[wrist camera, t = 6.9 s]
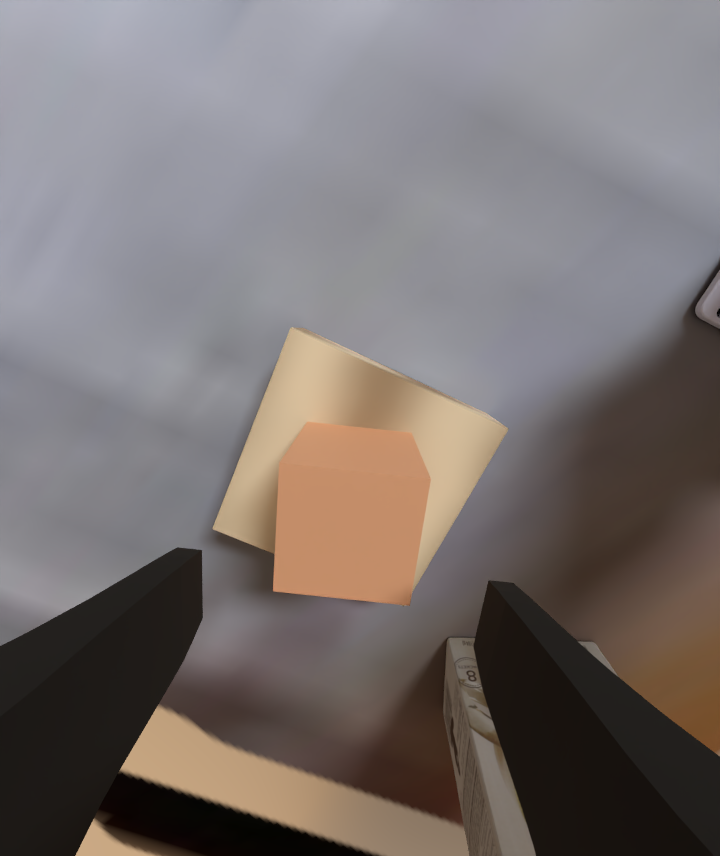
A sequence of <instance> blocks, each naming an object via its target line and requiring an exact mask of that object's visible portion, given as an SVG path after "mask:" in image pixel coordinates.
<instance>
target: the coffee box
mask: <svg viewBox="0 0 720 856" xmlns="http://www.w3.org/2000/svg"><path fill="white" fill-rule="evenodd" d="M474 641H475V638H448V640H447V648H446V667H445V683H444V704H443V714H444V720H445V725H446V730H447V735H448V740H449V746H450V751H451V757H452V762H453V767H454V773H455V779H456V783H457V790H458V796H459V801H460V807H461V812H462V818H463V823H464V829H465V834H466V838H467V844H468V850H469V856H536V854H535V850H534V846H533V843H532V840H531V836H530V833H529V830H528V826H527V823H526V820H525V817H524V813H523V811H522V808H521V805H520V802H519V799H518V796H517V793H516V790H515V787H514V784H513V781H512V778H511V775H510V772H509V769H508V766H507V763H506V760H505V757H504V754H503V751H502V748H501V745H500V742H499V739H498V736H497V733H496V730H495V727H494V724H493V721H492V718H491V715H490V712H489V709H488V706H487V703H486V699H485V696H484V693H483V689H482V685H481V680H480V676H479V672H478V667H477V662H476V657H475V652H474V647H473V646H474ZM578 642H579V643H580V644H581V645H582V646H583V647H584V648H586V649H587V650H588V651H589V652H590V653H591V654H592V655H593V656H595V657H596V658H597V659H598V660H599V661H600V662H601V663H603V664H604V665H605V666H606V667H607V668H608V669H610V670H611V671H612V672H613V673H614V674H615V675H617V674H616V672H615V671H614V670H613V668H612V667H611V665H610V664H609V662H608V661H607V660H606V658H605V657H604V655H603V654H602V653H601V651H600V649H599V648H598V646H597V645H596V644H595V643H594V642H584V641H578ZM617 676H618V675H617Z"/></svg>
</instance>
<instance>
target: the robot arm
mask: <svg viewBox="0 0 720 856" xmlns="http://www.w3.org/2000/svg"><path fill="white" fill-rule="evenodd" d="M719 308H720V270H719V272H718V273H717V275H716V276H715V278H714V279H713V281H712V282H711V284H710V285H709V287H708V288H707V290H706V291H705V293H704V294H703V296H702V297H701V299H700V300H699V302H698V303H697V305H696V308H695V313H696V316H697V317H699V318H700V319H702V320H704V321H705V322H707V323H709V324H711V325H713V326H715V327H717V328H719V329H720V315H719V316H718V317H717V311H718V309H719ZM202 618H203V608H202V550H196V549H186V548H176V549H174V550H172V551H170V552H168V553H166V554H165V555H163V556H161V557H160V558H158V559H156V560H154V561H153V562H151V563H149V564H148V565H146V566H144V567H143V568H141V569H139V570H138V571H136V572H134V573H133V574H131V575H129V576H128V577H126V578H124V579H122V580H121V581H119V582H117V583H116V584H114V585H112V586H110V587H109V588H107V589H105V590H104V591H102V592H100V593H99V594H97V595H95V596H93V597H92V598H90V599H88V600H86V601H85V602H83V603H81V604H79V605H77V606H75V607H74V608H72V609H70V610H68V611H66V612H64V613H62V614H61V615H59V616H57V617H55V618H53V619H51V620H50V621H48V622H46V623H44V624H42V625H40V626H39V627H37V628H35V629H33V630H31V631H29V632H27V633H25V634H23V635H22V636H20V637H18V638H16V639H14V640H12V641H10V642H8V643H6V644H4V645H2V646H0V856H75V855H76V853H77V851H78V849H79V847H80V845H81V843H82V841H83V839H84V837H85V835H86V833H87V831H88V829H89V827H90V825H91V823H92V821H93V819H94V817H95V815H96V813H97V811H98V809H99V807H100V805H101V803H102V801H103V799H104V797H105V795H106V794H107V792H108V790H109V788H110V786H111V785H112V783H113V781H114V779H115V777H116V775H117V774H118V772H119V770H120V768H121V767H122V765H123V763H124V762H125V760H126V758H127V757H128V755H129V753H130V751H131V750H132V748H133V746H134V745H135V743H136V741H137V740H138V738H139V736H140V735H141V733H142V731H143V729H144V728H145V726H146V724H147V723H148V721H149V719H150V718H151V716H152V714H153V712H154V711H155V709H156V707H157V706H158V704H159V702H160V701H161V699H162V697H163V695H164V694H165V692H166V690H167V689H168V687H169V685H170V683H171V682H172V680H173V678H174V676H175V675H176V673H177V671H178V670H179V668H180V666H181V664H182V662H183V661H184V659H185V656H186V654H187V652H188V650H189V648H190V646H191V643H192V641H193V639H194V637H195V634H196V632H197V630H198V627H199V625H200V623H201V621H202ZM473 647H474V652H475V657H476V662H477V667H478V672H479V676H480V680H481V685H482V689H483V693H484V696H485V699H486V703H487V706H488V709H489V712H490V715H491V718H492V721H493V724H494V727H495V730H496V733H497V736H498V739H499V742H500V745H501V748H502V751H503V754H504V757H505V760H506V763H507V766H508V769H509V772H510V775H511V778H512V781H513V784H514V787H515V790H516V793H517V796H518V799H519V802H520V805H521V808H522V811H523V813H524V817H525V820H526V823H527V826H528V830H529V833H530V836H531V840H532V843H533V846H534V850H535V854H536V856H720V756H718V755H717V754H715V753H714V752H713V751H712V750H710V749H709V748H708V747H706V746H705V745H704V744H702V743H701V742H700V741H698V740H697V739H696V738H694V737H693V736H692V735H690V734H689V733H688V732H686V731H685V730H684V729H682V728H681V727H680V726H678V725H677V724H676V723H674V722H673V721H672V720H670V719H669V718H668V717H667V716H665V715H664V714H663V713H662V712H660V711H659V710H658V709H657V708H655V707H654V706H653V705H652V704H650V703H649V702H648V701H647V700H645V699H644V698H643V697H642V696H641V695H639V694H638V693H637V692H636V691H635V690H633V689H632V688H631V687H630V686H629V685H627V684H626V683H625V682H624V681H623V680H621V679H620V678H619V677H618V676H617V675H615V674H614V673H613V672H612V671H611V670H610V669H608V668H607V667H606V666H605V665H604V664H603V663H601V662H600V661H599V660H598V659H597V658H596V657H595V656H593V655H592V654H591V653H590V652H589V651H588V650H587V649H586V648H584V647H583V646H582V645H581V644H580V643H579V642H578V641H577V640H576V639H574V638H573V637H572V636H571V635H570V634H569V633H568V632H567V631H566V630H565V629H563V628H562V627H561V626H560V625H559V624H558V623H557V622H556V621H555V620H554V619H553V618H551V617H550V616H549V615H548V614H547V613H546V612H545V611H544V610H543V609H542V608H541V607H540V606H538V605H537V604H536V603H535V602H534V601H533V600H532V599H531V598H530V597H529V596H527V595H526V594H525V593H524V592H523V591H522V590H521V589H520V588H518V587H517V586H516V585H515V584H514V583H508V582H498V581H488V585H487V590H486V594H485V598H484V603H483V607H482V611H481V616H480V620H479V624H478V629H477V633H476V637H475V641H474V646H473Z"/></svg>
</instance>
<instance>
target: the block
mask: <svg viewBox="0 0 720 856" xmlns="http://www.w3.org/2000/svg"><path fill="white" fill-rule="evenodd" d="M430 482H431V478H430V475H429V473H428V471H427V468H426V466H425V463H424V461H423V459H422V456H421V454H420V452H419V449H418V447H417V444H416V442H415V440H414V437H413V435H412V433H410V432H400V431H391V430H382V429H372V428H363V427H353V426H344V425H335V424H325V423H316V422H307V423H306V424H305V426H304V427H303V428H302V430H301V431H300V433H299V434H298V436H297V437H296V439H295V440H294V442H293V443H292V445H291V446H290V448H289V449H288V451H287V452H286V453H285V455H284V456H283V458H282V459H281V461H280V462H279V477H278V498H277V518H276V539H275V560H274V580H273V591H275V592H284V593H294V594H304V595H313V596H323V597H332V598H342V599H351V600H361V601H370V602H380V603H390V604H399V605H409V606H410V601H411V595H412V589H413V583H414V577H415V571H416V565H417V559H418V553H419V547H420V541H421V535H422V529H423V523H424V517H425V511H426V505H427V500H428V494H429V488H430Z"/></svg>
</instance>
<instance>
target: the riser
mask: <svg viewBox="0 0 720 856" xmlns="http://www.w3.org/2000/svg"><path fill="white" fill-rule="evenodd" d="M307 422H316V423H325V424H335V425H344V426H353V427H363V428H372V429H382V430H391V431H400V432H410V433H412V435H413V437H414V440H415V442H416V444H417V447H418V449H419V452H420V454H421V456H422V459H423V461H424V463H425V466H426V468H427V471H428V473H429V475H430V478H431V482H430V488H429V494H428V500H427V505H426V511H425V517H424V523H423V529H422V535H421V541H420V547H419V553H418V559H417V565H416V571H415V577H414V583H413V589H412V592H413V590H414V589H415V587H416V585H417V583H418V582H419V580H420V578H421V577H422V575H423V573H424V572H425V570H426V568H427V566H428V565H429V563H430V561H431V560H432V558H433V556H434V555H435V553H436V551H437V550H438V548H439V546H440V544H441V543H442V541H443V539H444V538H445V536H446V534H447V533H448V531H449V529H450V528H451V526H452V524H453V522H454V521H455V519H456V517H457V516H458V514H459V512H460V511H461V509H462V507H463V505H464V504H465V502H466V500H467V499H468V497H469V495H470V494H471V492H472V490H473V489H474V487H475V485H476V483H477V482H478V480H479V478H480V477H481V475H482V473H483V472H484V470H485V468H486V466H487V465H488V463H489V461H490V460H491V458H492V456H493V455H494V453H495V451H496V450H497V448H498V446H499V444H500V443H501V441H502V439H503V438H504V436H505V434H506V433H507V431H508V428H507V427H505V426H504V425H502V424H501V423H500V422H498V421H497V420H495V419H494V418H492V417H491V416H489V415H488V414H487V413H485V412H482V411H480V410H478V409H476V408H474V407H472V406H470V405H467V404H465V403H463V402H461V401H459V400H457V399H455V398H452V397H450V396H448V395H446V394H444V393H442V392H440V391H437V390H435V389H433V388H431V387H429V386H427V385H425V384H422V383H420V382H418V381H416V380H414V379H412V378H410V377H407V376H405V375H403V374H401V373H399V372H397V371H395V370H392V369H390V368H388V367H386V366H384V365H382V364H380V363H377V362H375V361H373V360H371V359H369V358H367V357H365V356H362V355H360V354H358V353H356V352H354V351H352V350H350V349H347V348H345V347H343V346H341V345H339V344H337V343H335V342H332V341H330V340H328V339H326V338H324V337H322V336H319V335H317V334H315V333H313V332H311V331H309V330H307V329H304V328H290V331H289V333H288V336H287V339H286V341H285V344H284V346H283V349H282V351H281V354H280V357H279V359H278V362H277V364H276V367H275V369H274V372H273V374H272V377H271V380H270V382H269V385H268V387H267V390H266V392H265V395H264V398H263V400H262V403H261V405H260V408H259V410H258V413H257V416H256V418H255V421H254V423H253V426H252V428H251V431H250V434H249V436H248V439H247V441H246V444H245V446H244V449H243V452H242V454H241V457H240V459H239V462H238V464H237V467H236V470H235V472H234V475H233V477H232V480H231V482H230V485H229V488H228V490H227V493H226V495H225V498H224V500H223V503H222V505H221V508H220V511H219V513H218V516H217V518H216V521H215V523H214V526H213V529H214V530H216V531H219V532H221V533H224V534H226V535H229V536H231V537H234V538H236V539H239V540H241V541H243V542H246V543H248V544H251V545H253V546H256V547H258V548H261V549H263V550H266V551H268V552H271V553H273V554H275V539H276V518H277V498H278V477H279V462H280V461H281V459H282V458H283V456H284V455H285V453H286V452H287V451H288V449H289V448H290V446H291V445H292V443H293V442H294V440H295V439H296V437H297V436H298V434H299V433H300V431H301V430H302V428H303V427H304V426H305V424H306V423H307ZM402 606H404V605H402Z"/></svg>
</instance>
